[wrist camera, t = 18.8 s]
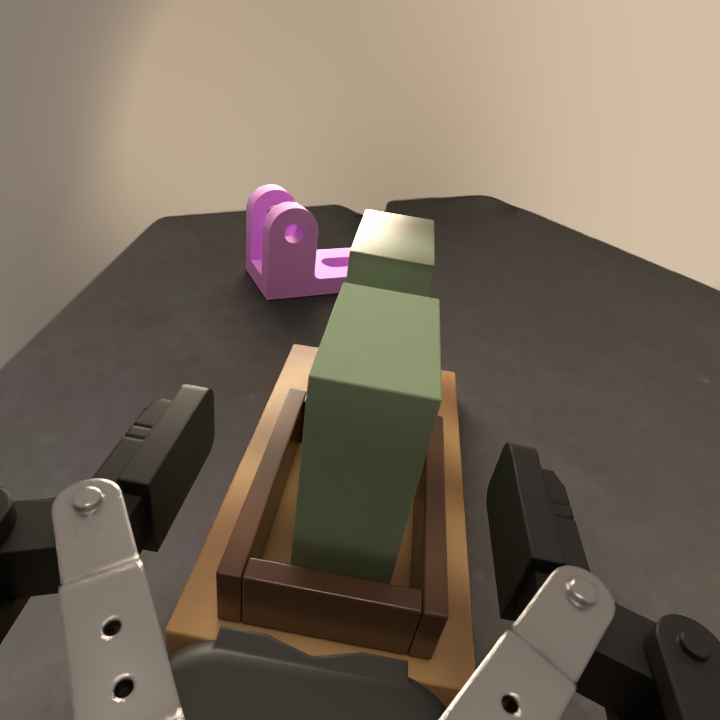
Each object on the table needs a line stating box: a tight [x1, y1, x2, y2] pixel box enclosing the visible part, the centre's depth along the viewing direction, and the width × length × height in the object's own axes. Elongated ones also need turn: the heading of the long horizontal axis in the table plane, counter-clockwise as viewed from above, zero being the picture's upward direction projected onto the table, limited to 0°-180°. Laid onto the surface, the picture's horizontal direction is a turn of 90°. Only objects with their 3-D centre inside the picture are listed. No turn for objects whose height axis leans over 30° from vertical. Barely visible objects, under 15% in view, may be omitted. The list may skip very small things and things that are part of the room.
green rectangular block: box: [290, 282, 442, 584], centre depth 18 cm, size 6×4×9 cm, turn 173°
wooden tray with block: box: [165, 209, 476, 708], centre depth 21 cm, size 18×10×10 cm, turn 173°
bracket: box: [246, 184, 351, 300], centre depth 41 cm, size 13×6×7 cm, turn 116°
